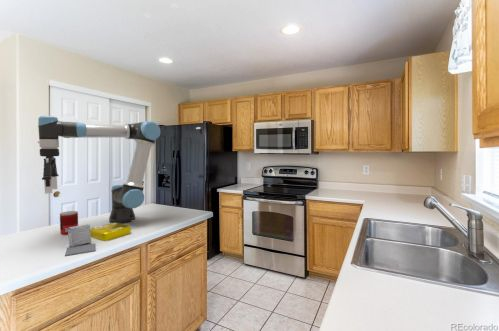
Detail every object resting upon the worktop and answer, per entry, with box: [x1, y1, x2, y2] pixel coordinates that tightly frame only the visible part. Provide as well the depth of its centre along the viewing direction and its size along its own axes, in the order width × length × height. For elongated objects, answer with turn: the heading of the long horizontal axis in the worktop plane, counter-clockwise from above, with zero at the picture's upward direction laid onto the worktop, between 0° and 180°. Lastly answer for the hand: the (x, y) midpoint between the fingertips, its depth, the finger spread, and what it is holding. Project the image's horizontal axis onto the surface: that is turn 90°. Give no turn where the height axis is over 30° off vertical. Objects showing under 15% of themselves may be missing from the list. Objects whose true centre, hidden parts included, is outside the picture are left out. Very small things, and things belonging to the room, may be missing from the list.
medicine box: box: [67, 223, 92, 247], centre depth 119 cm, size 8×4×9 cm, turn 141°
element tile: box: [90, 223, 132, 242], centre depth 135 cm, size 15×15×5 cm
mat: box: [64, 243, 96, 257], centre depth 113 cm, size 11×10×1 cm
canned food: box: [59, 210, 79, 236], centre depth 137 cm, size 8×8×11 cm
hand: (51, 191), depth 125 cm, fingers open, 13 cm apart
